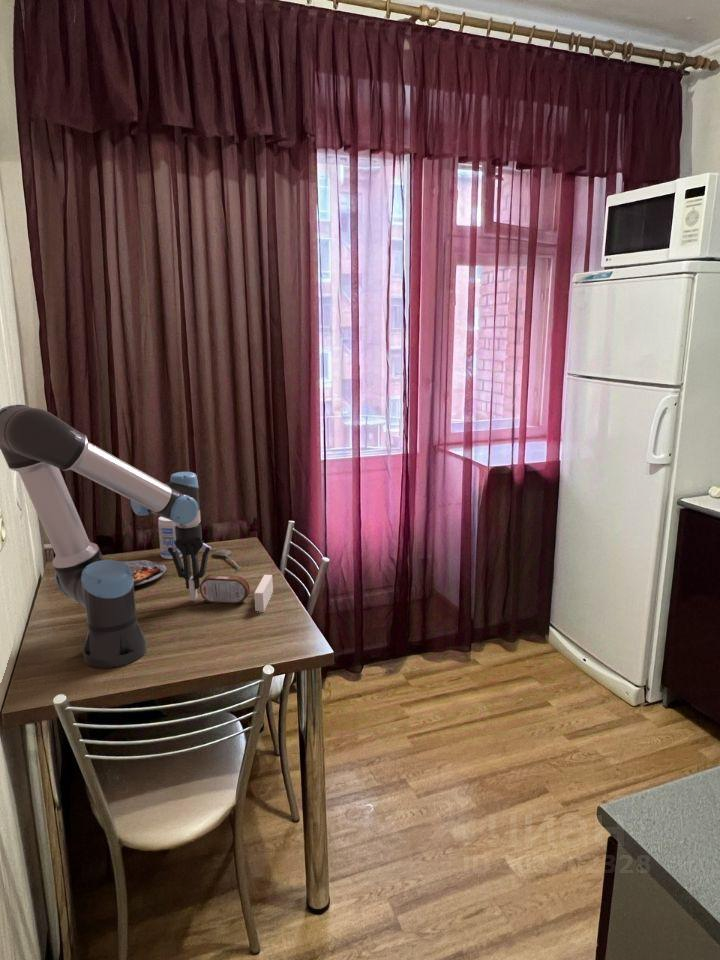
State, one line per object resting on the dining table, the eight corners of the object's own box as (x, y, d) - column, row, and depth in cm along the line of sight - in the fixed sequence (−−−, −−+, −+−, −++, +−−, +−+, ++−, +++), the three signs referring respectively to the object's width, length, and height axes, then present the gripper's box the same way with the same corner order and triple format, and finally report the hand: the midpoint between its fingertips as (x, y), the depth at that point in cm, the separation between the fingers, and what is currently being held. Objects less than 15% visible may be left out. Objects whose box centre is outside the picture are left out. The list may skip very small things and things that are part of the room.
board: (263, 612, 184) (262, 593, 183) (255, 612, 184) (254, 593, 183) (273, 592, 198) (272, 574, 196) (265, 592, 198) (264, 574, 197)
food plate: (181, 574, 214) (180, 564, 213) (122, 599, 195) (121, 588, 195) (134, 562, 228) (132, 553, 227) (75, 584, 209) (73, 574, 208)
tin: (250, 600, 192) (249, 574, 190) (247, 605, 189) (246, 578, 187) (203, 598, 194) (201, 573, 192) (199, 603, 191) (197, 577, 189)
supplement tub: (163, 561, 226) (160, 522, 223) (158, 554, 234) (154, 515, 231) (190, 557, 231) (187, 518, 227) (184, 549, 239) (181, 512, 235)
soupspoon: (227, 553, 237) (210, 557, 234) (226, 544, 236) (209, 548, 233) (248, 569, 218) (230, 574, 215) (247, 560, 218) (229, 564, 215)
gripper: (213, 520, 190) (218, 593, 196) (170, 520, 191) (177, 593, 196) (205, 528, 183) (211, 603, 188) (161, 528, 184) (168, 603, 189)
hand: (193, 598), depth 192 cm, fingers closed
